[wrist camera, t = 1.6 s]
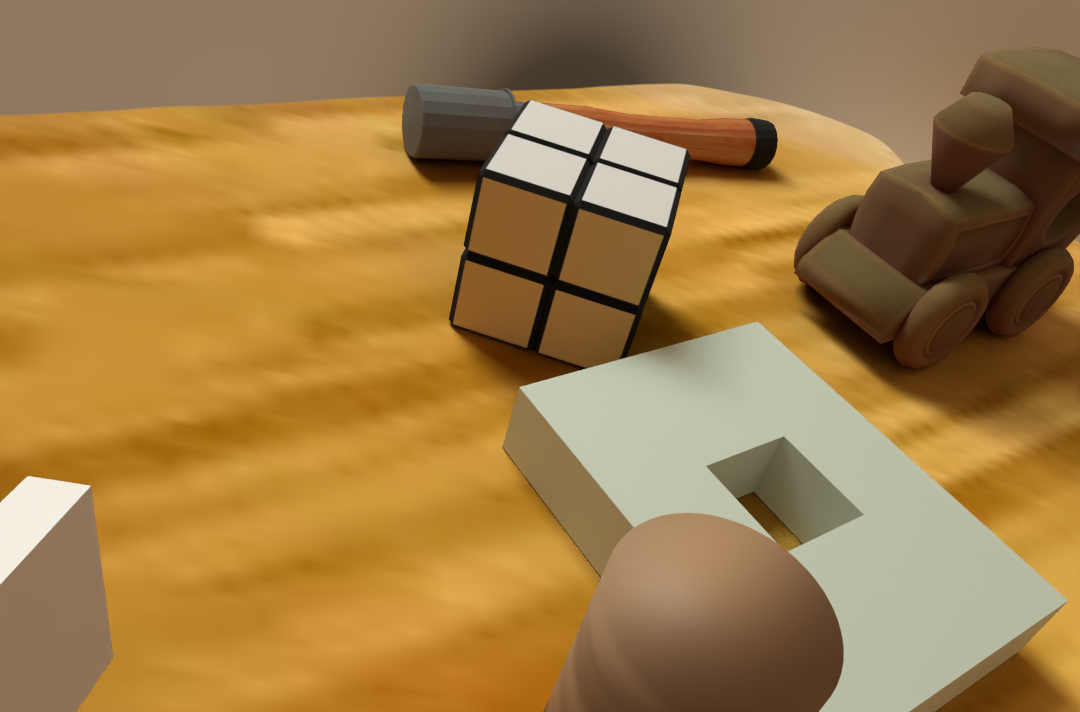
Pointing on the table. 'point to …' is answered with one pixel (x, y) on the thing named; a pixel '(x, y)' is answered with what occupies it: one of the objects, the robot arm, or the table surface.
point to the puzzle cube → (567, 235)
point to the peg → (702, 626)
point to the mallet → (484, 115)
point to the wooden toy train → (963, 216)
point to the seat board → (787, 504)
